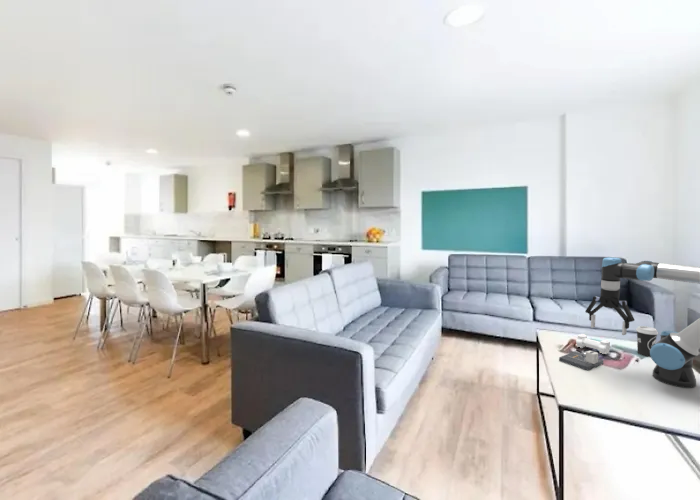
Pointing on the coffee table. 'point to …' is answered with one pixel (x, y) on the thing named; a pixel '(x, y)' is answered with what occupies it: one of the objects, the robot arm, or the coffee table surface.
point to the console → (579, 360)
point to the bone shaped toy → (593, 344)
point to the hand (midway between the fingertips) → (607, 330)
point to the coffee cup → (645, 339)
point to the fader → (591, 357)
